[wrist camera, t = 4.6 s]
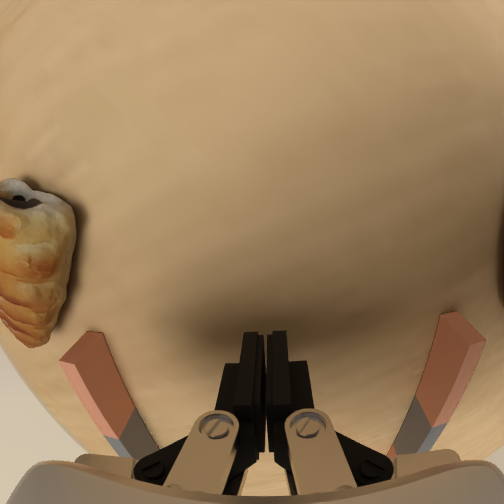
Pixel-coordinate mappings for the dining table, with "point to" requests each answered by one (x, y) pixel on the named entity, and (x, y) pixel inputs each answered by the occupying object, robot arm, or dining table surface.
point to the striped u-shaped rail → (407, 442)
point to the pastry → (33, 260)
